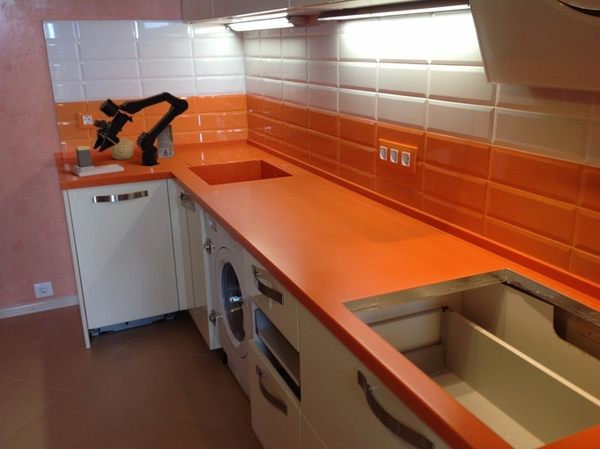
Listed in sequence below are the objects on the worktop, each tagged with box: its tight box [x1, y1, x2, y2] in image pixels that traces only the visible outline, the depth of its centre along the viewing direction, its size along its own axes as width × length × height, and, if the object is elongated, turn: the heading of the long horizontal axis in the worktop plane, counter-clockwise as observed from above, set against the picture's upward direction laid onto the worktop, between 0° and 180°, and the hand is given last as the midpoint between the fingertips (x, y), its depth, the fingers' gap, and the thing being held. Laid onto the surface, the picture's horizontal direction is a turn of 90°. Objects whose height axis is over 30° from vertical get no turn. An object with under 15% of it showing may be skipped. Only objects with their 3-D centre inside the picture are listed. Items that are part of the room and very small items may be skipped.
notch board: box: [73, 163, 125, 178], centre depth 255 cm, size 20×11×4 cm, turn 124°
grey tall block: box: [75, 145, 93, 168], centre depth 250 cm, size 5×5×11 cm
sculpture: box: [109, 137, 135, 161], centre depth 281 cm, size 12×12×11 cm
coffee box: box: [156, 124, 175, 159], centre depth 285 cm, size 9×6×16 cm
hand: (96, 150), depth 252 cm, fingers open, 9 cm apart
